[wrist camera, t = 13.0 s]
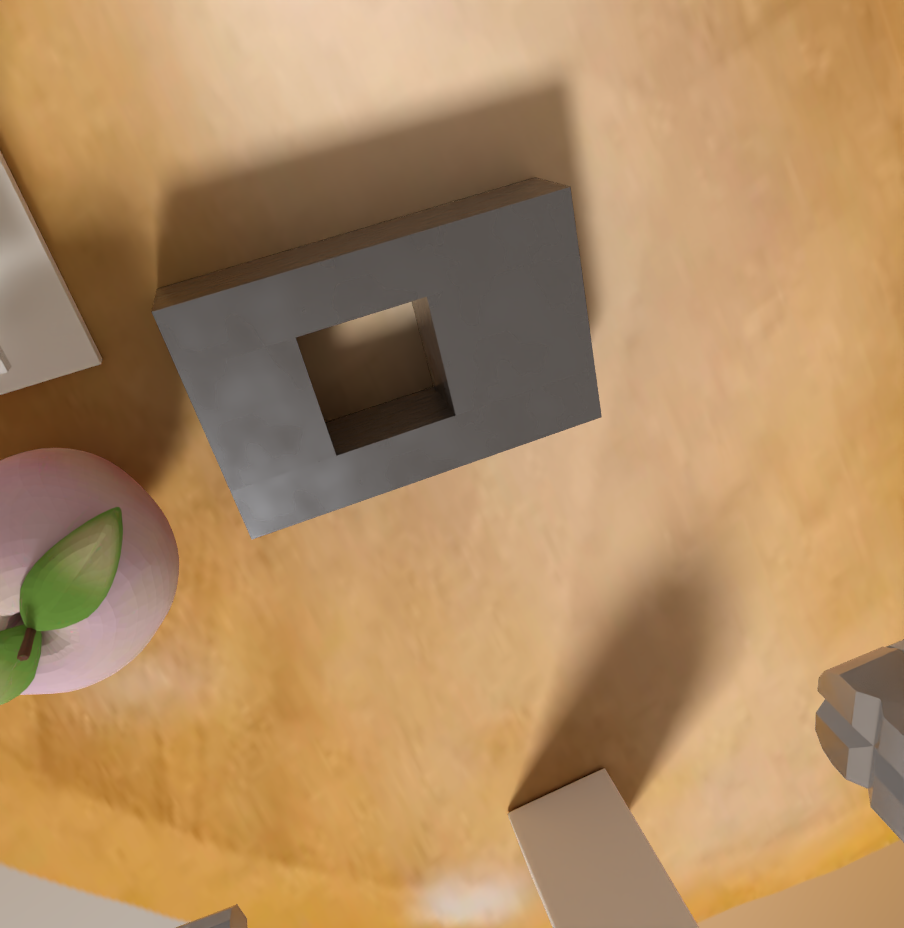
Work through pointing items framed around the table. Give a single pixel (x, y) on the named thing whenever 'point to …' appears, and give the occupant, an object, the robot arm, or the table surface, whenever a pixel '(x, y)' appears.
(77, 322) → the pad
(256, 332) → the post block
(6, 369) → the peg
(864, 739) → the robot arm
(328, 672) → the table surface
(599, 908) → the milk carton
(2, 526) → the decorative fruit
